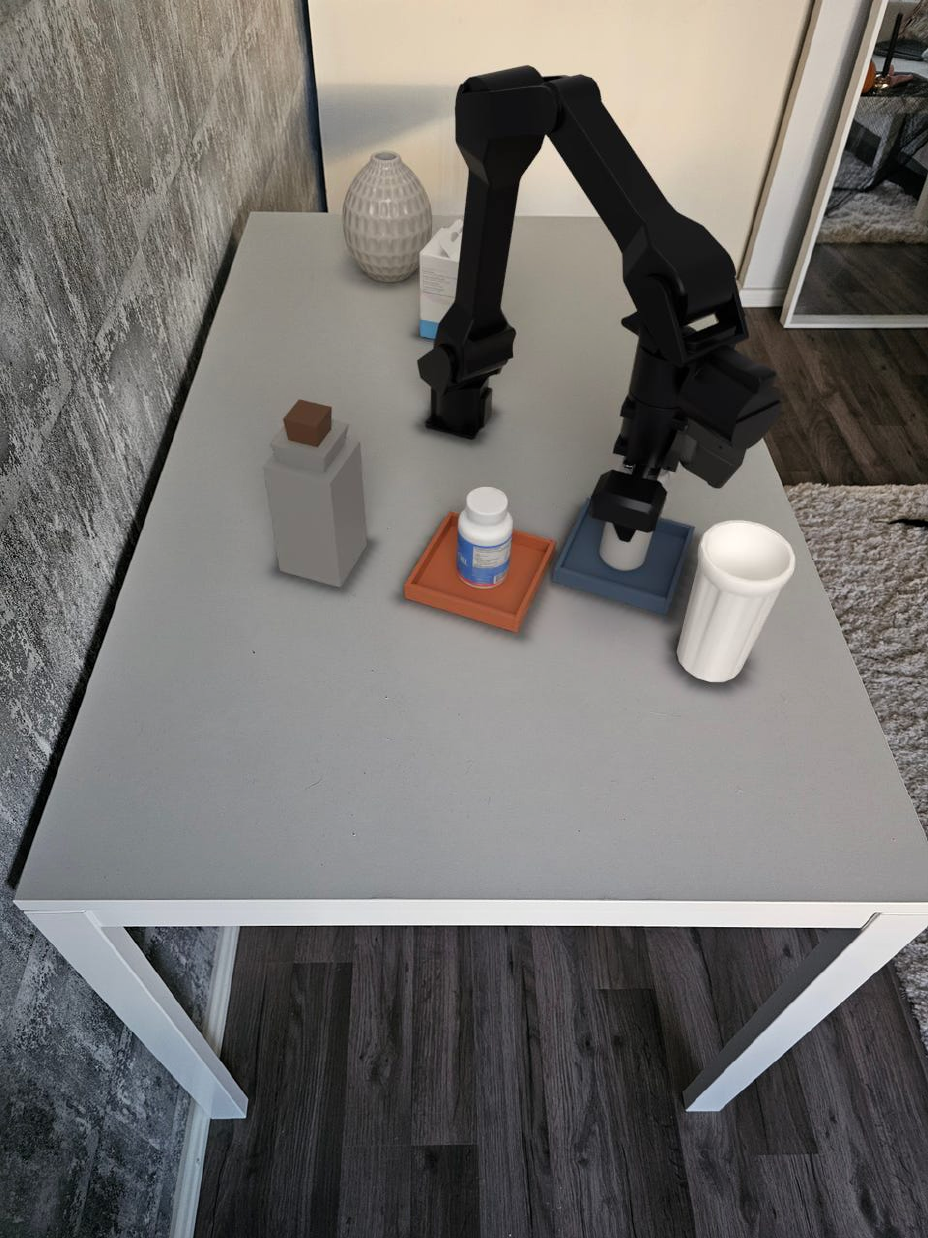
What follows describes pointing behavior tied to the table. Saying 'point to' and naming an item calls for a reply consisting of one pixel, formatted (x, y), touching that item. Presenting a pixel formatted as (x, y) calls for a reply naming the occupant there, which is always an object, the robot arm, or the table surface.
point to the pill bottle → (484, 538)
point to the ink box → (439, 277)
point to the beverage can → (623, 552)
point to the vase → (387, 218)
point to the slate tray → (634, 587)
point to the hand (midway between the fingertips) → (631, 522)
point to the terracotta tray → (494, 605)
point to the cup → (732, 596)
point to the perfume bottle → (316, 495)
